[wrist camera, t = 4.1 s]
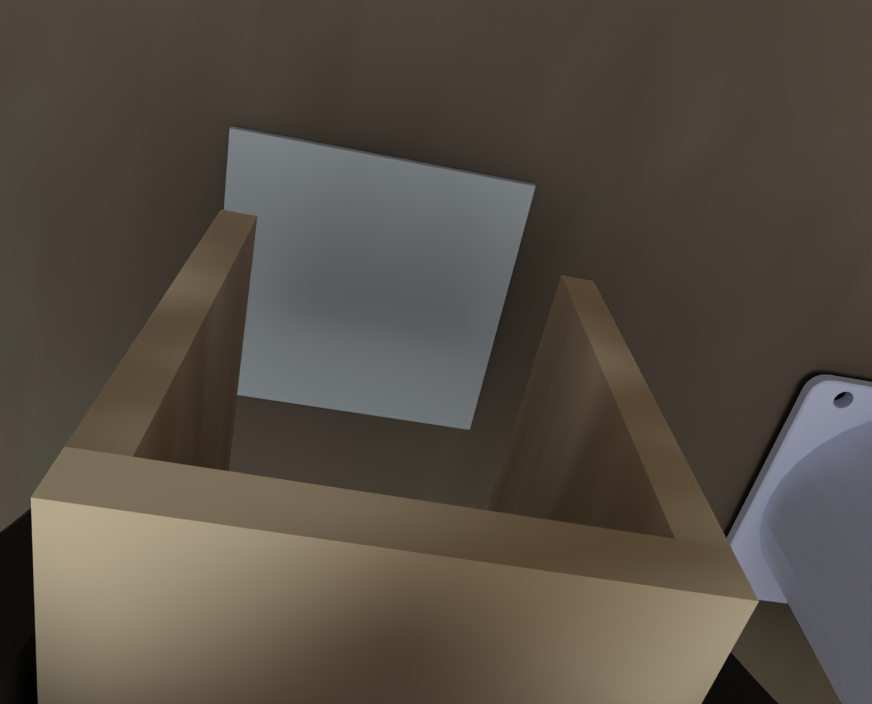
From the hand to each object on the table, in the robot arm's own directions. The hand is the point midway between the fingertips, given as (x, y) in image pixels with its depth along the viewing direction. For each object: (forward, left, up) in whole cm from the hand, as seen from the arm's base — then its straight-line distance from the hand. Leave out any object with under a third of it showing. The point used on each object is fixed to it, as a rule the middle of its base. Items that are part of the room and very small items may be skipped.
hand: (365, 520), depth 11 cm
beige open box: (0, 0, -2) cm, 2 cm away
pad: (0, +1, -9) cm, 9 cm away
